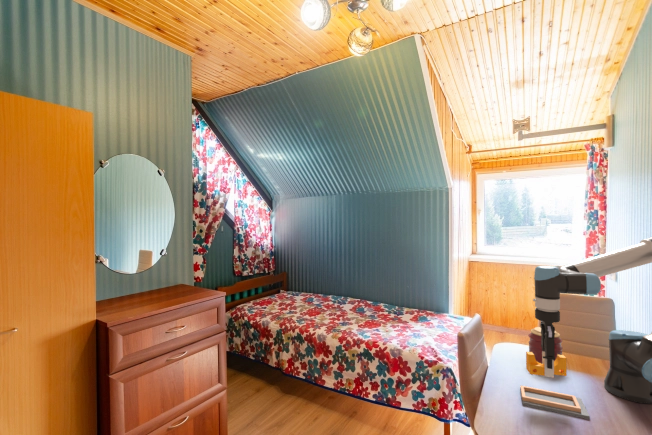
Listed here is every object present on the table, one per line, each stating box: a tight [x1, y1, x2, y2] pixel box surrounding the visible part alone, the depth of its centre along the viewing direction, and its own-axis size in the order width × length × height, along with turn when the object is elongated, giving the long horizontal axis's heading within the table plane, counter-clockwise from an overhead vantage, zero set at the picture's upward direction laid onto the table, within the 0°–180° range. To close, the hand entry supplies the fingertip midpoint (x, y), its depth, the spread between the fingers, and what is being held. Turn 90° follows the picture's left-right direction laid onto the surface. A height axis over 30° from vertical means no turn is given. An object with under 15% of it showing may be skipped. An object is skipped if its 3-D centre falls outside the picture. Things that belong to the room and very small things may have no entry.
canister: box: [528, 326, 563, 364], centre depth 148 cm, size 13×13×18 cm
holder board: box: [519, 385, 591, 420], centre depth 117 cm, size 19×12×2 cm, turn 63°
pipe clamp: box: [525, 351, 568, 377], centre depth 117 cm, size 12×4×6 cm, turn 75°
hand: (548, 372), depth 117 cm, fingers closed on pipe clamp, 5 cm apart
